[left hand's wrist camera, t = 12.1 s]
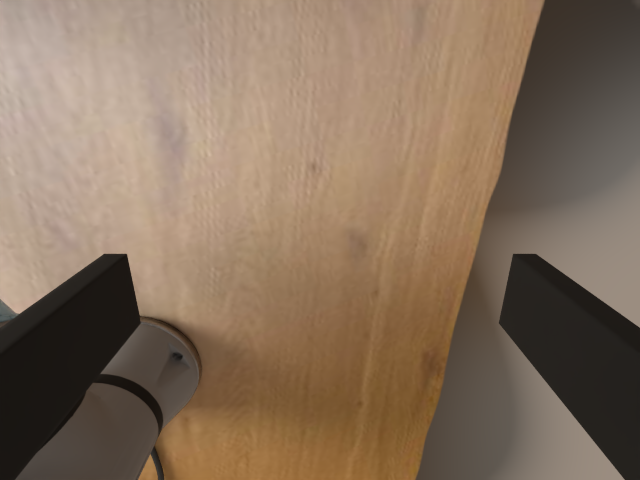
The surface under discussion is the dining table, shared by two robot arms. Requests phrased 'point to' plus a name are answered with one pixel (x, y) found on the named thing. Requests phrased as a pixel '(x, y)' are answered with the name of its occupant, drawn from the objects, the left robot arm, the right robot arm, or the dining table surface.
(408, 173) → the dining table surface
